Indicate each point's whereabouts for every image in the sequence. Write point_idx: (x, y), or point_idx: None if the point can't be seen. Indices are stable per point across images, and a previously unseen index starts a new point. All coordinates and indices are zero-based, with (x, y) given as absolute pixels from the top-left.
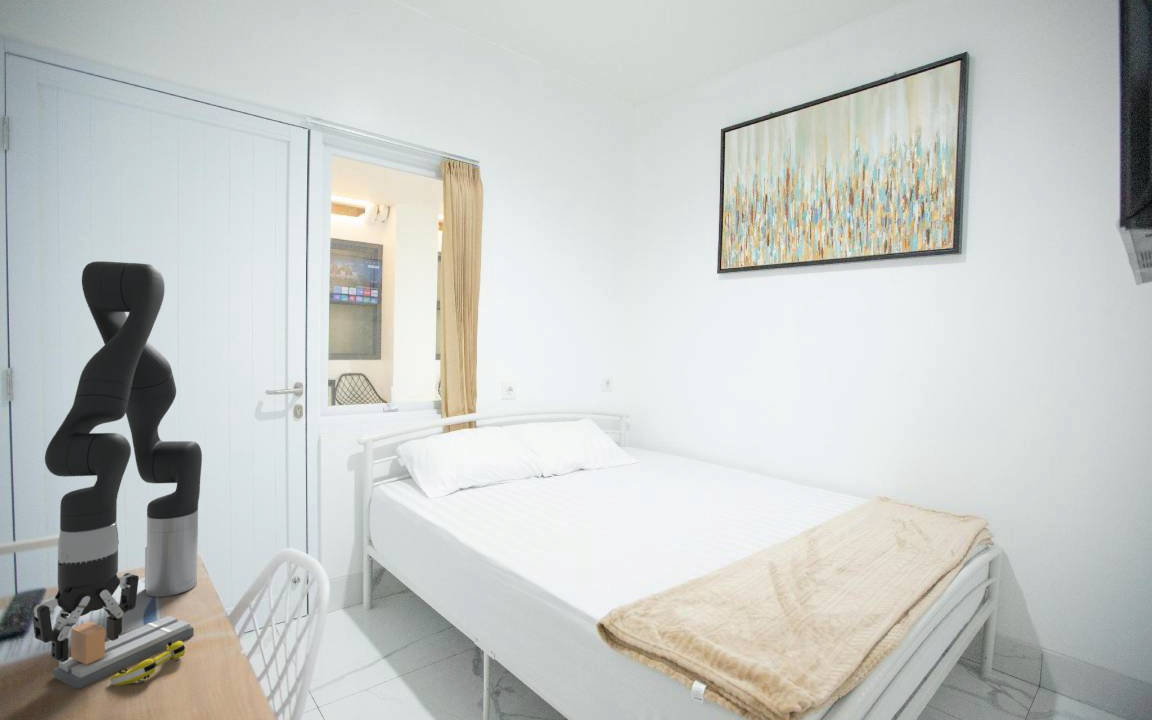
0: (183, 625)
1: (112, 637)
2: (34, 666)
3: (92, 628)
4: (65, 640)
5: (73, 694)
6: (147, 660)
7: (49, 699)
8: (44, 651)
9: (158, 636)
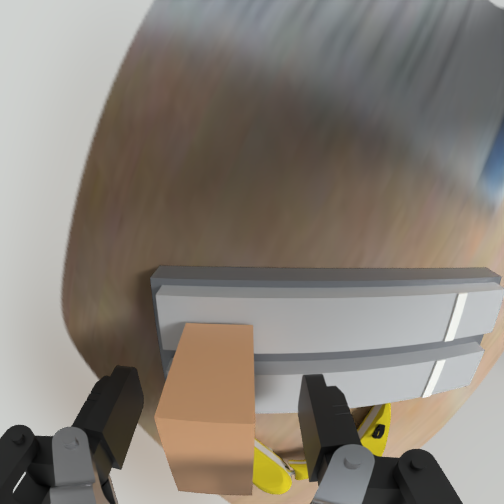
0: (459, 385)
1: (300, 411)
2: (160, 120)
3: (219, 475)
4: (112, 465)
5: (161, 389)
6: (276, 493)
7: (120, 362)
8: (232, 33)
9: (400, 396)
